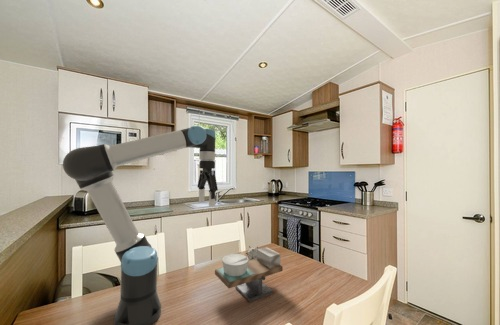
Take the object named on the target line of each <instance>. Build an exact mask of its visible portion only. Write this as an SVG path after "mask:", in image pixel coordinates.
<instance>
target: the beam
mask: <svg viewBox="0 0 500 325" xmlns="http://www.w3.org/2000/svg"><path fill="white" fill-rule="evenodd" d="M248 260H249V259H248ZM283 268H284V267H283V265H282V264H281V253H280V252H277V251H275V250H273V249H271V248H269V247H262V248H258V249H257V259H253V260H249V261H248V265H247V270H246V272H245V274H243V275H241V276H237V277H232V276H228V275H226V274H225V272H224V269H223V267H219V268H216V269H214V275H215V276H216V277H217V278H218V279H219V280H220V281H221V282H222V283H223V284H224V286H225V287H227V289H232V288H236V286H238V285H241V284H244V283H247V282H251V281H254V280H257V279H260V278H261V279H262V281H265V280H266V277H268V276H271V275H275V274H278V273H280V272H283V270H284V269H283Z"/></svg>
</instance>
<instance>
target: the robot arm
mask: <svg viewBox="0 0 500 325" xmlns="http://www.w3.org/2000/svg"><path fill="white" fill-rule="evenodd" d="M216 139H217V138H216V131H215V130H214V129H212V128H204V127H203V126H201V125H192V126H190V127H186V128H182V129H179V130H173V131H169V132H165V133H160V134H157V135H152V136H148V137H143V138H140V139H134V140H130V141H126V142H122V143H117V144H112V145H109V144H106V143H104V144H99V145H98V144H97V145H93V146H84V147H76V148H74V149H72V150H71V151H69V152H68V153H66V155H65V156H64V157H63V160H62V168H63V170H64V172H65V174H66V175H67V176H68V177H69V178H71V179H73V180H75V182H76V184H77V185H78V187H79V189H80V190H82V191H84V192H87V193H88V195H89V197H90V198H91V200H92V202H93V204H94V206H95V208H96V210H97V212H98V214H99V215H100V217H101V219H102V221H103V223H104V224H105V226H106V229H107V230H108V231H109V234H110V235H111V237H112V238H113V241H114V242H115V248H114V253H115V254H116V256H117V258H118V260H119V262H120V268H121V269H120V298H119V299H120V300H119V303H118V305H117V308H116V310H115V314H114V318H113V325H153V324H154V323H155V322H156V321H157V320H159V318H160V316H161V314H162V303H161V300H160V297H159V295H158V291H157V290H158V289H157V288H158V287H157V284H158V283H157V281H158V279H157V278H158V277H157V276H158V261H159V256H158V251H157V250H156V249H155V248H154V247H152V244H150V243H149V242H148V241H149V240H147V237H146V236H145V234H144V233H143V232H139V231H138V229H137V227H136V225H135V223H134V221H133V220H132V217H131V216H130V214H129V211H128V210H127V208H126V206H125V204H124V202H123V200H122V198H121V196H120V194H119V193H118V189H117V188H116V187H115V185H114V183H113V180H114V177H115V175H114V173H113V171H116V169H117V167H120V166H121V167H122V166H125V165H128V164H131V163H135V162H139V161H142V160H147V159H150V158H154V157H157V156H161V155H165V154H169V153H171V152H176V151H178V150H182V149H186V148H193V149H194V148H196V149H199V160H200V161H199V169H200V170H199V176H198V182H197V188H198V203H205V200H206V199H205V193H206V192H205V191H206V190H205V189H206V187H205V186H206V184H207V186H208V188H209V190H208V194H209V195H208V206H209V207H215V206H216V192H217V191H218V189H219V188H218V182H217V179H216V171H215V170H213V169H215V168H216V161H215V160H216V155H217V154H216Z"/></svg>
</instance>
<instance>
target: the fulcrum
mask: <svg viewBox="0 0 500 325" xmlns="http://www.w3.org/2000/svg"><path fill="white" fill-rule="evenodd" d="M235 289H236V290H237V291H238V292H239V293H240V294H241V295H242V296H243V298H245V299H246V300H247V301H248V302H250V303H251V302H253V301H257V300H259V299H262V298H263V297H267V296H269V295H272V294H273V293H274V290H273V289H272V288H270V286H268V285H266V284H265V283H264V282H263V280H262V279H261V278H260V279H257V280H254V281H251V282H247V283H244V284H241V285H238V286H235Z"/></svg>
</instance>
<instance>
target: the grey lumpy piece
mask: <svg viewBox="0 0 500 325" xmlns="http://www.w3.org/2000/svg"><path fill="white" fill-rule="evenodd" d="M257 249H259V247H258V246H256V247H253V246H252V247H251V246H250V245H248V250H247V252H246V253H245V255H247V258H248V260H253V259H257Z"/></svg>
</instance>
